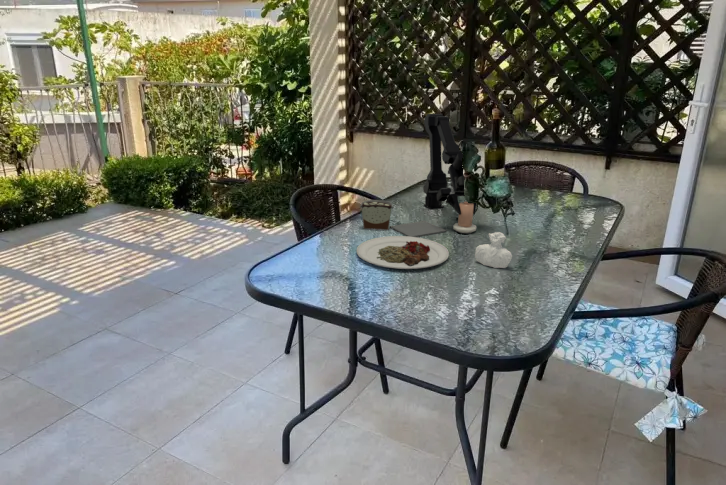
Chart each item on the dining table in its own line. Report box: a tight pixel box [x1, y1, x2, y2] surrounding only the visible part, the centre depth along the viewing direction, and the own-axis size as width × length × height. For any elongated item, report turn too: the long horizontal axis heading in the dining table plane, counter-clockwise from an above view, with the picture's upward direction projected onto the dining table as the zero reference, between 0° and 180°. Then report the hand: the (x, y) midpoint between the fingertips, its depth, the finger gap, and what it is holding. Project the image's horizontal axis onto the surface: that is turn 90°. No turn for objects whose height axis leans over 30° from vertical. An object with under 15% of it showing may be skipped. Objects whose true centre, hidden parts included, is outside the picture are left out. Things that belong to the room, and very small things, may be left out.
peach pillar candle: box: [457, 200, 474, 227], centre depth 196 cm, size 5×5×9 cm
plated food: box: [356, 235, 450, 270], centre depth 173 cm, size 30×30×3 cm
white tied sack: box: [474, 231, 513, 269], centre depth 166 cm, size 12×8×11 cm
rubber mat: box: [389, 220, 447, 238], centre depth 199 cm, size 16×14×1 cm
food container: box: [359, 199, 394, 231], centre depth 200 cm, size 12×6×10 cm, turn 84°
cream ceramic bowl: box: [452, 222, 477, 234], centre depth 198 cm, size 8×8×2 cm
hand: (467, 213), depth 195 cm, fingers closed on peach pillar candle, 5 cm apart
